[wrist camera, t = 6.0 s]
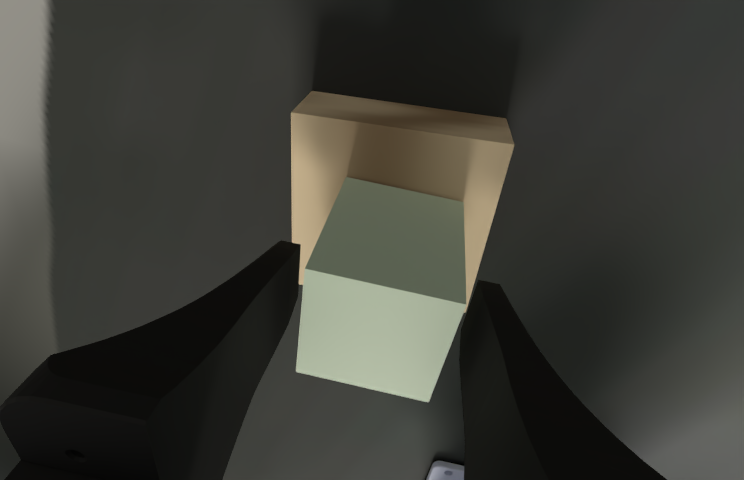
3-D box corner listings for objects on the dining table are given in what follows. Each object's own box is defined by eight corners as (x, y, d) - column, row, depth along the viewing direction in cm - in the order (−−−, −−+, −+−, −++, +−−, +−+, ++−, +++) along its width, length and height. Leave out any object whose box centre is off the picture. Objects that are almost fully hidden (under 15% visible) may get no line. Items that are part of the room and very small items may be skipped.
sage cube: (463, 202, 15) (466, 304, 11) (435, 290, 17) (428, 402, 13) (346, 176, 15) (304, 268, 11) (333, 267, 17) (295, 371, 13)
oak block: (504, 113, 16) (514, 144, 14) (463, 267, 20) (465, 312, 17) (315, 87, 17) (290, 112, 14) (311, 242, 20) (292, 283, 18)
